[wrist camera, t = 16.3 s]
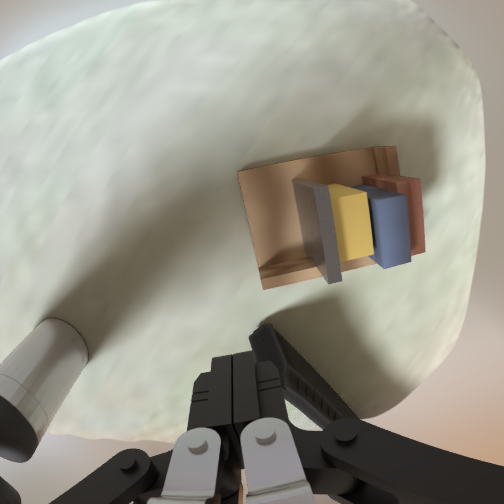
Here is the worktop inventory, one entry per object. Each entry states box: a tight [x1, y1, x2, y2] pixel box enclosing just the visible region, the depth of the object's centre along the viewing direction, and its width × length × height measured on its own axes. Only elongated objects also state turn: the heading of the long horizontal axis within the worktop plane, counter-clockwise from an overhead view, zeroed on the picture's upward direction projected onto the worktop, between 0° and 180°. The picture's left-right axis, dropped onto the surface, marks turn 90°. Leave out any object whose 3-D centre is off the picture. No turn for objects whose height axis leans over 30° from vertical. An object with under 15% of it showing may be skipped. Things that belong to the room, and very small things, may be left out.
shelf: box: [237, 146, 425, 290], centre depth 31 cm, size 17×12×12 cm
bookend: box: [292, 178, 342, 284], centre depth 30 cm, size 1×8×10 cm, turn 12°
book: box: [328, 184, 374, 262], centre depth 30 cm, size 4×6×9 cm, turn 12°
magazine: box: [249, 323, 359, 429], centre depth 39 cm, size 17×3×30 cm
